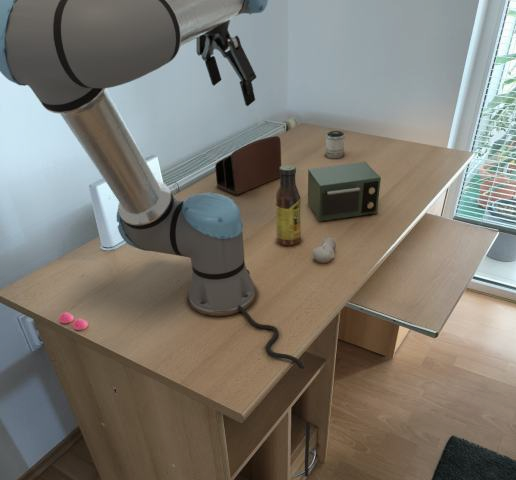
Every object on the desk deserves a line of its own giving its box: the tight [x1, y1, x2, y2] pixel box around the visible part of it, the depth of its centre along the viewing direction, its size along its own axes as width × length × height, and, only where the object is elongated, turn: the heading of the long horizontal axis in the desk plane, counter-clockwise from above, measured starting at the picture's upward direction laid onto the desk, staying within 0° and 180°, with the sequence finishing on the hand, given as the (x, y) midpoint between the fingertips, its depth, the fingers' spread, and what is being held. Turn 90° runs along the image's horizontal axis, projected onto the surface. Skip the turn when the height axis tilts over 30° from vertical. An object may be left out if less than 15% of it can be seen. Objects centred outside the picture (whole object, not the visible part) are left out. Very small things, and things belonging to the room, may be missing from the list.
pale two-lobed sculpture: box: [312, 237, 337, 264], centre depth 127 cm, size 4×8×5 cm
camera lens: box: [325, 130, 346, 159], centre depth 177 cm, size 6×6×8 cm
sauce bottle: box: [275, 164, 301, 247], centre depth 129 cm, size 7×6×20 cm
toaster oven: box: [307, 161, 382, 223], centre depth 143 cm, size 14×17×11 cm
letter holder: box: [214, 135, 282, 196], centre depth 162 cm, size 10×20×14 cm, turn 131°
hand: (233, 92), depth 130 cm, fingers open, 13 cm apart
